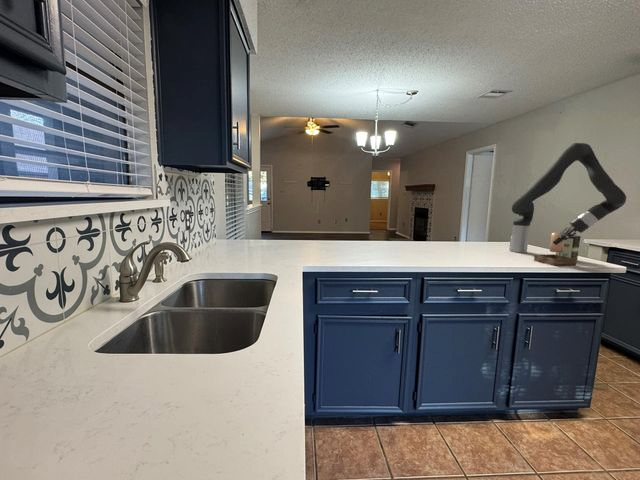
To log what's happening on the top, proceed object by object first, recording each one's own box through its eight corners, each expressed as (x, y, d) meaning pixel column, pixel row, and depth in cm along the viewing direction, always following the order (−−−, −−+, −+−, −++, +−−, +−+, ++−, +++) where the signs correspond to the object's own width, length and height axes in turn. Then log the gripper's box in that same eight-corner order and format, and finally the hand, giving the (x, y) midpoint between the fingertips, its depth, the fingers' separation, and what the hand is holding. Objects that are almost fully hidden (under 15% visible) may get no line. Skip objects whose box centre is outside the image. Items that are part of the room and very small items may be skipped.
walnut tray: (533, 260, 178) (534, 254, 177) (553, 260, 180) (554, 254, 179) (554, 266, 165) (555, 259, 164) (575, 265, 167) (576, 259, 167)
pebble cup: (547, 250, 174) (549, 232, 172) (555, 250, 174) (558, 232, 173) (556, 252, 168) (558, 233, 167) (565, 252, 169) (567, 233, 168)
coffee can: (572, 258, 185) (576, 234, 183) (580, 262, 176) (584, 237, 174) (552, 257, 189) (555, 233, 187) (558, 260, 179) (561, 236, 177)
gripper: (574, 215, 172) (545, 236, 179) (581, 217, 159) (550, 239, 166) (585, 226, 170) (555, 246, 177) (594, 228, 157) (561, 250, 164)
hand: (553, 242), depth 171 cm, fingers closed on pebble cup, 5 cm apart
